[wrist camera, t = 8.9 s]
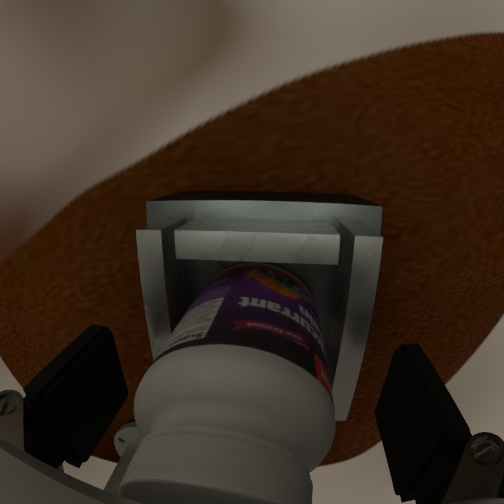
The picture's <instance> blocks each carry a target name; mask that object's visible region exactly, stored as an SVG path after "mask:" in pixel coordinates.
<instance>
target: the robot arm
mask: <svg viewBox="0 0 504 504" xmlns="http://www.w3.org/2000/svg"><path fill="white" fill-rule="evenodd" d="M23 390H24V392H25V394H26V396H25V398H23V397H22V395H21V394H20V393H19V392H17V391H14V390H4V391H1V392H0V504H142V503H138V502H135V501H132V500H129V499H126V498H123V497H121V496H120V493H119V486H120V483H121V481H122V479H123V477H124V475H125V473H126V471H127V468H128V466H129V464H130V462H131V460H132V458H133V456H134V454H135V452H136V450H137V449H138V447H139V444H140V442H141V440H142V439H143V438H142V436H141V435H140V433H139V430H138V428H137V425H136V421H135V422H130V423H127V424H125V425H122V426H121V427H120V429H119V430H118V431H117V433H116V435H115V437H114V445H115V448H116V450H117V452H118V454H119V456H120V457H121V458H120V460H119V462H118V464H117V466H116V467H115V469H114V471H113V473H112V475H111V477H110V479H109V481H108V482H107V484H106V486H105V488H104V490H102V489H99V488H97V487H94V486H92V485H90V484H87V483H85V482H83V481H80V480H78V479H76V478H74V477H72V476H70V475H67V474H65V473H64V470H63V465H62V463H63V462H64V460H65V461H66V462H67V463H69V464H71V465H73V466H75V467H77V468H80V466H81V464H82V463H83V462H86V461H87V460H88V459H89V457H90V456H91V454H92V452H93V451H94V449H95V448H96V446H97V444H98V443H99V441H100V440H101V438H102V437H103V435H104V433H105V432H106V430H107V429H108V427H109V425H110V424H111V422H112V421H113V419H114V418H115V416H116V414H117V413H118V411H119V410H120V408H121V407H122V405H123V404H124V402H125V400H126V399H127V396H128V389H127V385H126V382H125V379H124V375H123V372H122V368H121V364H120V361H119V357H118V353H117V349H116V345H115V341H114V336H113V334H112V332H110V331H109V329H108V328H107V327H105V326H99V325H91V326H89V327H88V328H87V329H86V330H85V331H84V332H83V333H82V334H80V335H79V336H78V337H77V338H76V339H75V340H74V341H73V342H72V343H71V344H69V345H68V346H67V347H66V348H65V349H64V350H63V351H62V352H61V353H60V354H59V355H58V356H57V357H55V358H54V359H53V360H52V361H51V362H50V363H49V364H48V365H47V366H46V367H45V368H44V369H43V370H42V371H41V372H40V373H39V374H38V375H37V376H35V377H34V378H33V379H32V380H31V381H30V382H29V383H28V384H27V385H26V386H25V387H24V388H23ZM375 417H376V421H377V425H378V428H379V432H380V436H381V439H382V443H383V447H384V450H385V454H386V458H387V462H388V466H389V470H390V474H391V478H392V482H393V487H394V491H395V494H396V495H400V497H401V501H402V502H406V501H411V500H415V501H416V504H504V441H503V440H502V439H501V438H500V437H499V436H497V435H495V434H493V433H488V432H481V433H477V434H475V435H473V436H472V435H471V433H470V431H469V430H470V429H469V427H468V425H467V423H466V421H465V419H464V418H463V416H462V414H461V412H460V410H459V409H458V407H457V405H456V403H455V402H454V400H453V398H452V397H451V395H450V393H449V392H448V390H447V388H446V386H445V385H444V383H443V382H442V380H441V378H440V377H439V375H438V373H437V372H436V370H435V369H434V367H433V365H432V364H431V362H430V361H429V359H428V358H427V356H426V354H425V353H424V351H423V350H422V348H421V347H420V345H419V344H417V343H415V344H402V345H400V347H399V349H396V350H395V351H394V353H393V357H392V360H391V364H390V367H389V370H388V374H387V377H386V380H385V383H384V386H383V389H382V392H381V395H380V398H379V401H378V404H377V406H376V410H375Z"/></svg>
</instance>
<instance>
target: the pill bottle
mask: <svg viewBox="0 0 504 504" xmlns="http://www.w3.org/2000/svg"><path fill="white" fill-rule="evenodd" d="M134 416H135V421H136V425H137V428H138V430H139V433H140V435H141V436H142V438H143V439H142V440H141V442H140V444H139V447H138V449H137V450H136V452H135V454H134V456H133V458H132V460H131V462H130V464H129V466H128V468H127V471H126V473H125V475H124V477H123V479H122V481H121V483H120V486H119V493H120V496H121V497H123V498H126V499H129V500H132V501H135V502H138V503H142V504H312V489H313V485H312V481H311V479H310V474H309V473H310V472H311V471H312V470H313V469H315V468H316V467H317V466H318V465H319V464H320V463H321V462H322V460H323V459H324V458H325V456H326V455H327V453H328V452H329V450H330V448H331V445H332V443H333V439H334V435H335V410H334V403H333V396H332V392H331V385H330V379H329V373H328V367H327V361H326V355H325V349H324V343H323V338H322V333H321V327H320V321H319V316H318V312H317V308H316V305H315V303H314V300H313V298H312V296H311V294H310V292H309V291H308V289H307V288H306V286H305V285H304V284H303V283H302V282H301V281H300V280H299V279H298V278H297V277H295V276H294V275H293V274H291V273H290V272H288V271H286V270H284V269H282V268H280V267H277V266H275V265H271V264H267V263H259V262H249V263H241V264H237V265H234V266H231V267H229V268H226V269H225V270H223V271H221V272H219V273H218V274H216V275H215V276H214V277H213V278H212V279H211V280H210V281H209V282H208V283H207V284H206V285H205V287H204V288H203V289H202V290H201V292H200V293H199V295H198V296H197V298H196V299H195V300H194V302H193V303H192V305H191V306H190V308H189V309H188V310H187V312H186V313H185V315H184V316H183V318H182V319H181V321H180V322H179V324H178V325H177V327H176V328H175V330H174V331H173V333H172V334H171V336H170V337H169V339H168V340H167V342H166V343H165V344H164V346H163V347H162V349H161V350H160V352H159V353H158V355H157V356H156V358H155V359H154V361H153V362H152V364H151V365H150V367H149V368H148V370H147V371H146V373H145V375H144V377H143V378H142V380H141V382H140V384H139V386H138V388H137V391H136V394H135V399H134Z"/></svg>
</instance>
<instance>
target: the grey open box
mask: <svg viewBox="0 0 504 504" xmlns="http://www.w3.org/2000/svg"><path fill="white" fill-rule="evenodd" d="M146 211H147V225H146V226H143V227H141V228H139V229H137V230H136V238H137V249H138V259H139V269H140V277H141V286H142V293H143V300H144V307H145V314H146V320H147V327H148V332H149V338H150V344H151V349H152V354H153V359H155V358H156V356H157V355H158V353H159V352H160V350H161V349H162V347H163V346H164V344H165V343H166V342H167V340H168V339H169V337H170V336H171V334H172V333H173V331H174V330H175V328H176V327H177V325H178V324H179V322H180V321H181V319H182V318H183V316H184V315H185V313H186V312H187V310H188V309H189V308H190V306H191V305H192V303H193V302H194V300H195V299H196V298H197V296H198V295H199V293H200V292H201V290H202V289H203V288H204V287H205V285H206V284H207V283H208V282H209V281H210V280H211V279H212V278H213V277H214V276H215V275H216V274H218V273H219V272H221V271H223V270H225V269H226V268H229V267H231V266H234V265H237V264H241V263H249V262H259V263H267V264H271V265H275V266H277V267H280V268H282V269H284V270H286V271H288V272H290V273H291V274H293V275H294V276H295V277H297V278H298V279H299V280H300V281H301V282H302V283H303V284H304V285H305V286H306V288H307V289H308V291H309V292H310V294H311V296H312V298H313V300H314V303H315V305H316V308H317V312H318V316H319V321H320V327H321V333H322V338H323V343H324V349H325V355H326V361H327V367H328V373H329V379H330V385H331V392H332V396H333V403H334V410H335V421H346V418H347V415H348V412H349V408H350V405H351V402H352V398H353V395H354V391H355V387H356V384H357V380H358V376H359V372H360V368H361V364H362V360H363V355H364V351H365V346H366V342H367V337H368V332H369V327H370V322H371V317H372V312H373V306H374V300H375V294H376V288H377V282H378V275H379V268H380V260H381V252H382V243H383V237H382V236H381V235H380V231H381V219H382V206H380V205H378V204H375V203H373V202H370V201H368V200H365V199H363V198H360V197H357V196H354V195H338V194H318V193H294V192H253V191H196V192H180V193H176V194H172V195H168V196H164V197H160V198H156V199H153V200H149V201H146Z"/></svg>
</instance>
